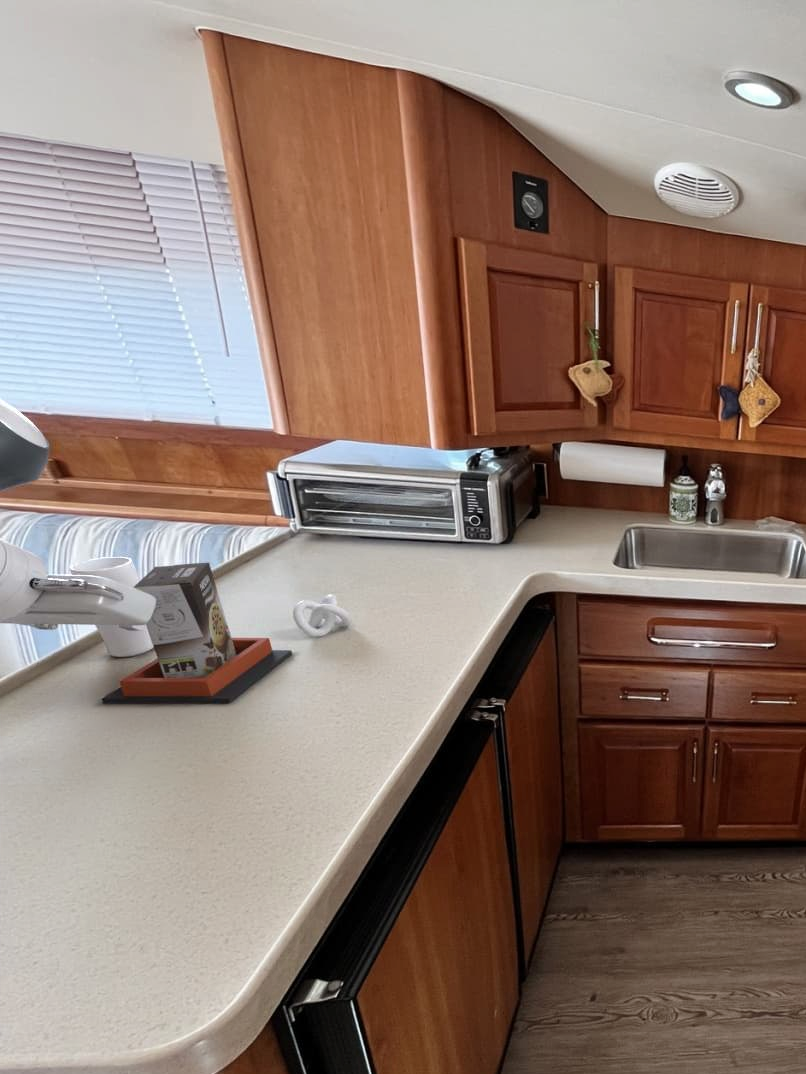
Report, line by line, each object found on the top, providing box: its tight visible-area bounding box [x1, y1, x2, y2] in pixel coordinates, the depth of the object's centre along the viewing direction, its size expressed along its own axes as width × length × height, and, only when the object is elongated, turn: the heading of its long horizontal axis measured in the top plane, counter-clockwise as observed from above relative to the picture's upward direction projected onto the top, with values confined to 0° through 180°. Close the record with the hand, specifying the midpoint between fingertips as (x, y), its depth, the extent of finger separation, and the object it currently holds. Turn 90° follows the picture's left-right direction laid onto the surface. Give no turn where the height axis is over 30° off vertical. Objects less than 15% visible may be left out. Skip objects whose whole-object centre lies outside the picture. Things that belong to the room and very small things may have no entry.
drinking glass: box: [69, 556, 154, 658], centre depth 99 cm, size 7×7×15 cm
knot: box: [292, 593, 353, 638], centre depth 113 cm, size 8×8×6 cm
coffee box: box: [133, 562, 236, 678], centre depth 94 cm, size 9×6×16 cm
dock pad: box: [100, 637, 293, 704], centre depth 96 cm, size 16×15×3 cm
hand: (96, 624), depth 79 cm, fingers open, 8 cm apart
